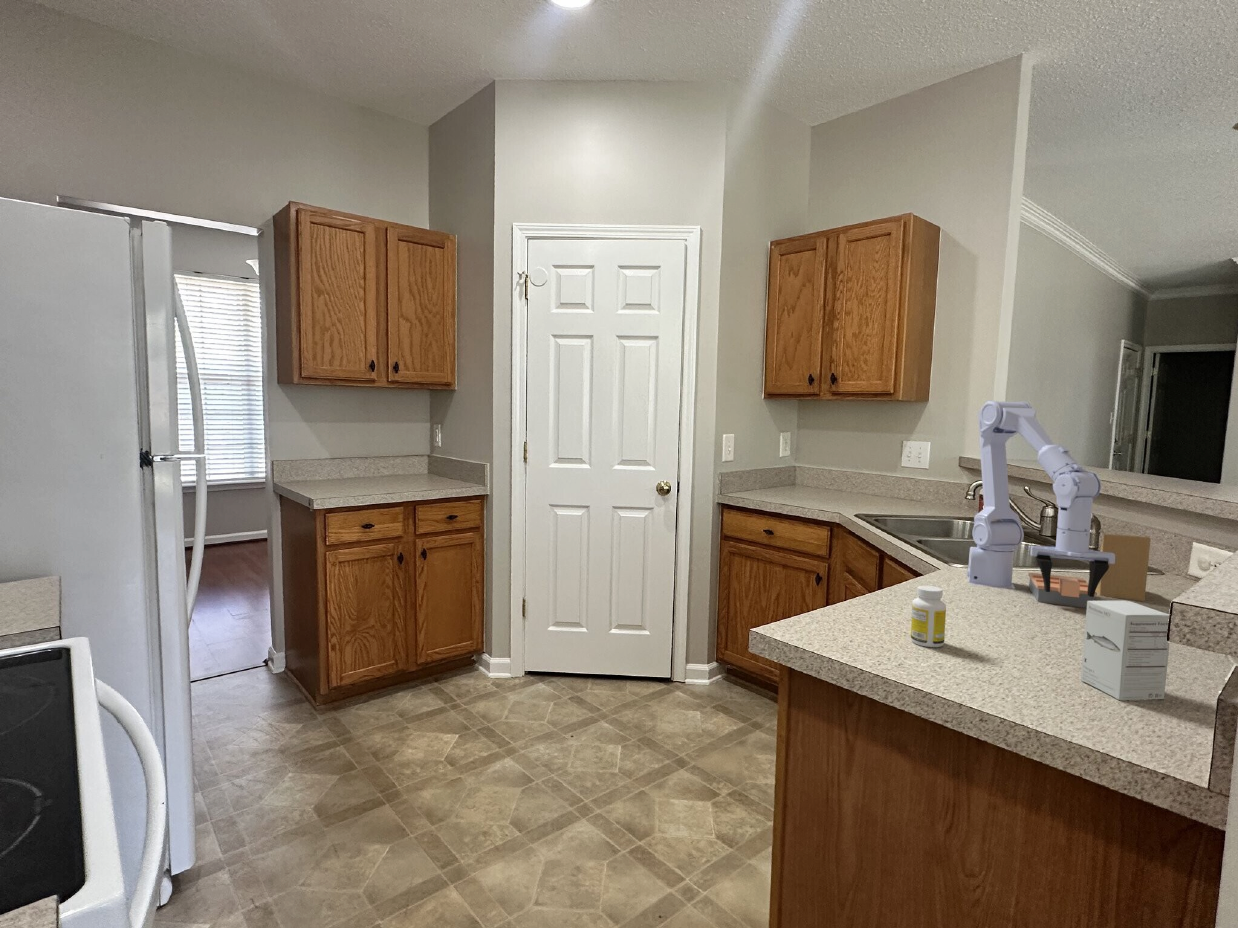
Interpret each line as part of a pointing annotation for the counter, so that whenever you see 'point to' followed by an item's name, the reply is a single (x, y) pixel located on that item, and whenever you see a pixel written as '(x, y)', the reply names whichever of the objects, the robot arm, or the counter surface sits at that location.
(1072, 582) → the lid
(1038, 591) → the tub
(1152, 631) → the supplement box
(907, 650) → the counter surface
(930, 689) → the counter surface
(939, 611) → the supplement bottle
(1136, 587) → the sandwich container
